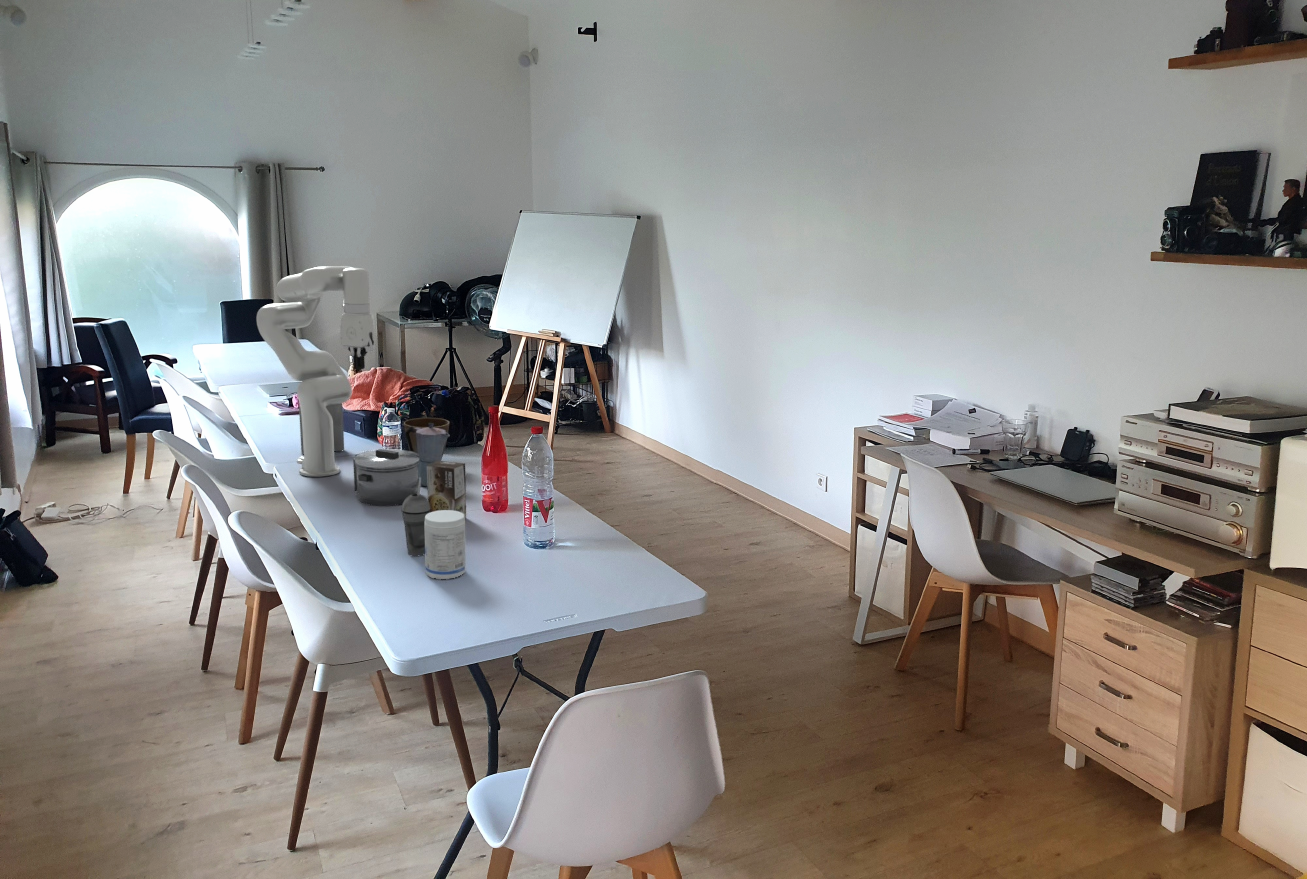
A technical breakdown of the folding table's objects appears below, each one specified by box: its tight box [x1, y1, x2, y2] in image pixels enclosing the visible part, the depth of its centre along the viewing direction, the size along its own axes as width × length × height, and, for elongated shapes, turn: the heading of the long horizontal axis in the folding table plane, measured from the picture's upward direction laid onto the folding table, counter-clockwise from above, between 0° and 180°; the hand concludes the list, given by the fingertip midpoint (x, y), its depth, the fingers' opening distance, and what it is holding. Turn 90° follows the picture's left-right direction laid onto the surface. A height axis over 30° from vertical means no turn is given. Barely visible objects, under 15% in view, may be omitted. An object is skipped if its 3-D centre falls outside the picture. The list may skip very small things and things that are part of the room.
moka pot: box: [405, 423, 450, 487], centre depth 305 cm, size 10×15×20 cm, turn 78°
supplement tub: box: [424, 510, 466, 580], centre depth 229 cm, size 10×10×15 cm
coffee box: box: [426, 460, 467, 519], centre depth 270 cm, size 9×6×16 cm
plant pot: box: [403, 417, 450, 461], centre depth 324 cm, size 15×15×16 cm
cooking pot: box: [352, 458, 419, 507], centre depth 290 cm, size 20×22×11 cm
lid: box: [354, 448, 419, 469], centre depth 288 cm, size 20×19×3 cm
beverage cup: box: [400, 477, 431, 557], centre depth 242 cm, size 7×7×20 cm
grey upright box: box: [298, 403, 345, 455], centre depth 342 cm, size 15×6×20 cm, turn 125°
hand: (359, 368), depth 295 cm, fingers closed
